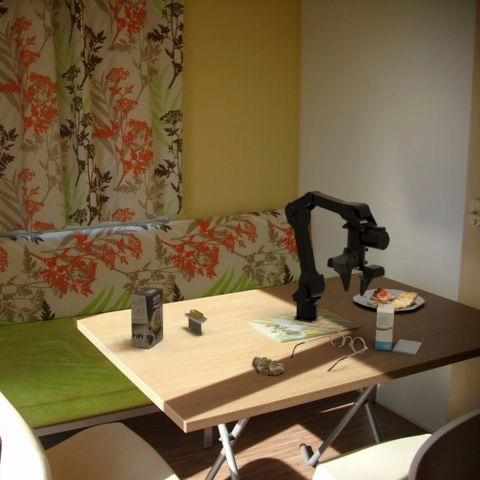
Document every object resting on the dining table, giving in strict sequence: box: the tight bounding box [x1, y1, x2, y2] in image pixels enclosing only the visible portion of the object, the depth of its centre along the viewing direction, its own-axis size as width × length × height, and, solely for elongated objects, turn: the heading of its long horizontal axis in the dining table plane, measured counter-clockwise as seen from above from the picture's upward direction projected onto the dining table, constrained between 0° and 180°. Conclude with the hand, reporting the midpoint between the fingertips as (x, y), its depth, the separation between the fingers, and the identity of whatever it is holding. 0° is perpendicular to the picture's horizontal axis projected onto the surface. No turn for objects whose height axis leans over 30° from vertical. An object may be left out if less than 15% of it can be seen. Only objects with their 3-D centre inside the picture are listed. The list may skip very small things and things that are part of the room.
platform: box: [184, 308, 208, 336], centre depth 220 cm, size 12×18×7 cm, turn 33°
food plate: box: [352, 286, 426, 313], centre depth 250 cm, size 25×23×4 cm
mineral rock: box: [251, 356, 285, 376], centre depth 191 cm, size 11×4×8 cm
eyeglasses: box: [290, 330, 368, 372], centre depth 200 cm, size 16×19×5 cm
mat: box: [392, 339, 423, 356], centre depth 207 cm, size 7×10×1 cm, turn 155°
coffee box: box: [130, 286, 164, 349], centre depth 208 cm, size 9×6×16 cm
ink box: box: [374, 304, 395, 351], centre depth 208 cm, size 8×5×12 cm, turn 165°
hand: (354, 293), depth 216 cm, fingers open, 6 cm apart
